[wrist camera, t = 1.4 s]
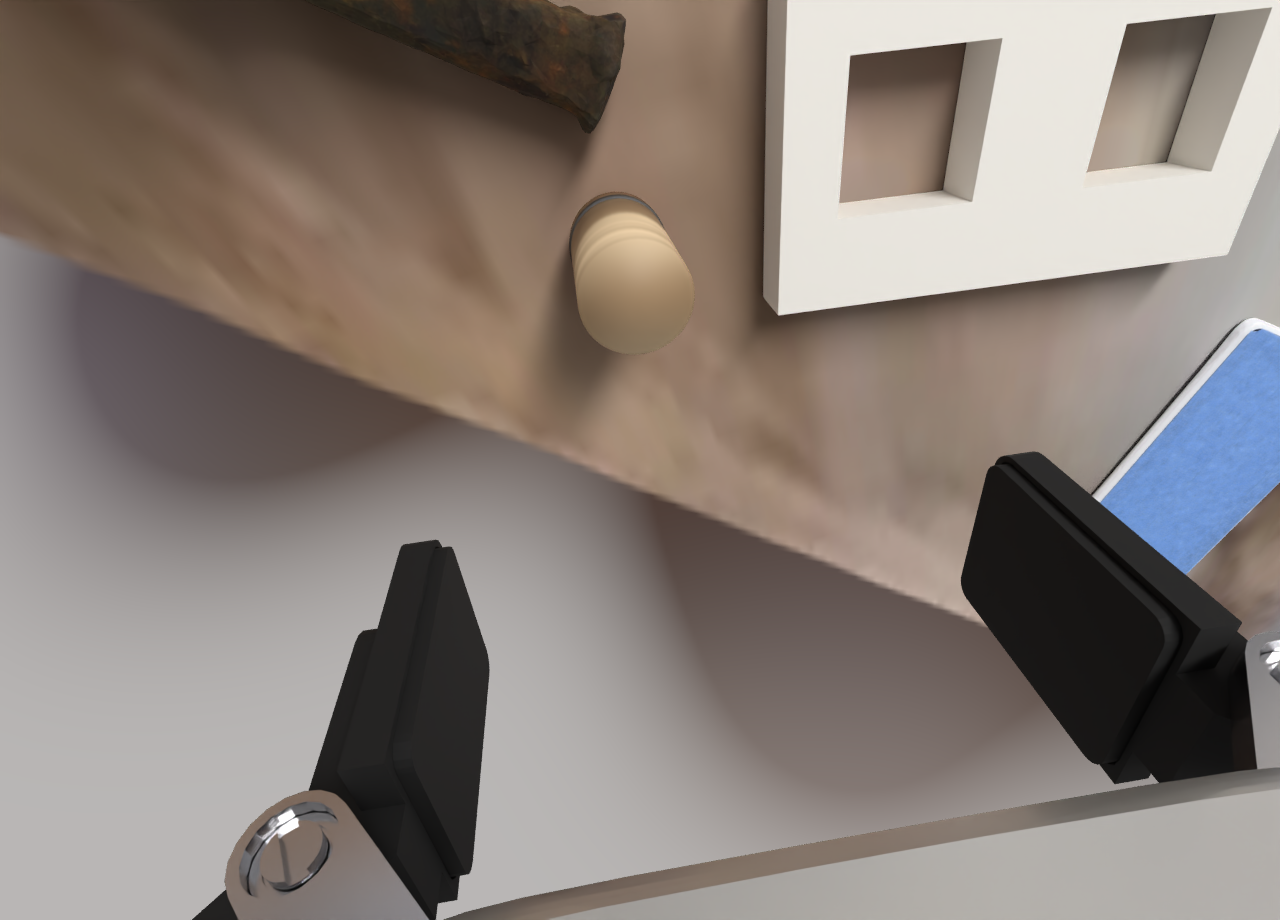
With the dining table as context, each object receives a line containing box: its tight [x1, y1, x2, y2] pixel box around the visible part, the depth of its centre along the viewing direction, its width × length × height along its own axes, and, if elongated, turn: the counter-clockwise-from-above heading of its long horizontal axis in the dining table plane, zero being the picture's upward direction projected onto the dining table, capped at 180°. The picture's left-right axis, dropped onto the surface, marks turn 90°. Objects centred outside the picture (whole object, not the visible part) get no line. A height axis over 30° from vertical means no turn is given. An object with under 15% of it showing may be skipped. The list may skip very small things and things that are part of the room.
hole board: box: [763, 0, 1280, 315], centre depth 28 cm, size 14×22×2 cm, turn 95°
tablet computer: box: [1092, 318, 1280, 575], centre depth 43 cm, size 19×13×1 cm, turn 161°
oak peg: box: [569, 192, 695, 355], centre depth 26 cm, size 4×4×9 cm
